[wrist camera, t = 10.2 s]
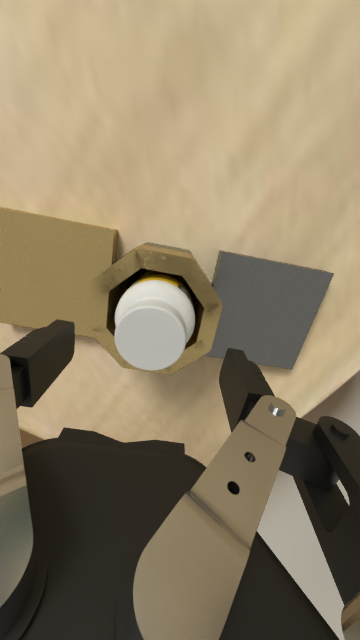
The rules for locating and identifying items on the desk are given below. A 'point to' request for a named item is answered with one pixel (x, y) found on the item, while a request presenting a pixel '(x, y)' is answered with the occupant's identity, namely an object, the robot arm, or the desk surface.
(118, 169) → the desk surface
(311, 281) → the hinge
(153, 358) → the supplement bottle
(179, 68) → the desk surface
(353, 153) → the desk surface
